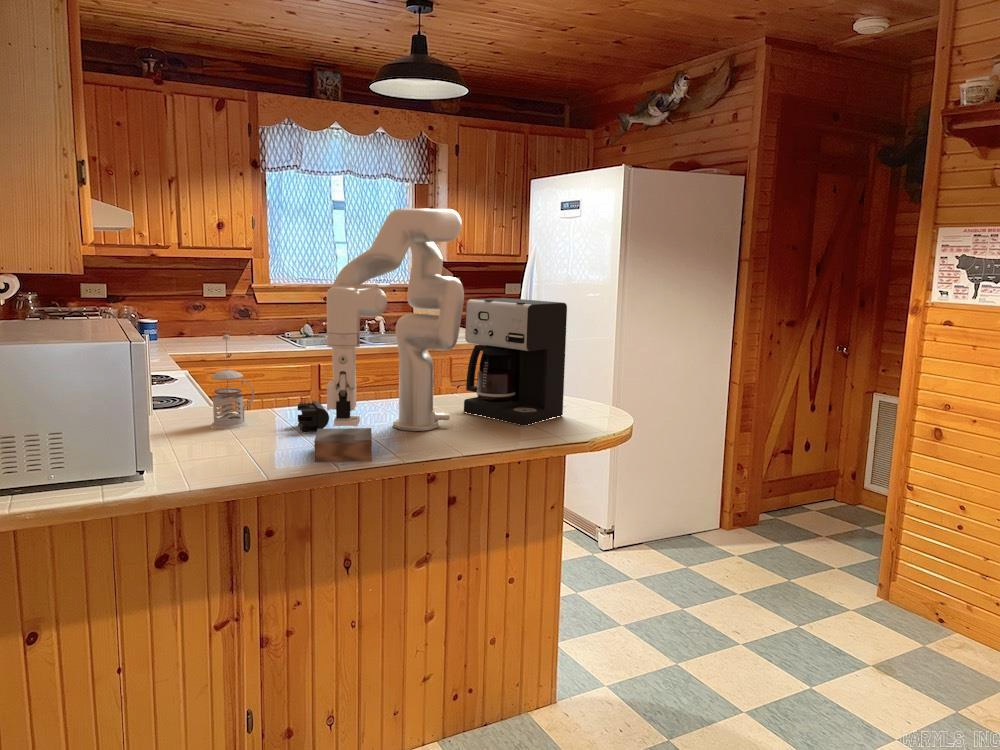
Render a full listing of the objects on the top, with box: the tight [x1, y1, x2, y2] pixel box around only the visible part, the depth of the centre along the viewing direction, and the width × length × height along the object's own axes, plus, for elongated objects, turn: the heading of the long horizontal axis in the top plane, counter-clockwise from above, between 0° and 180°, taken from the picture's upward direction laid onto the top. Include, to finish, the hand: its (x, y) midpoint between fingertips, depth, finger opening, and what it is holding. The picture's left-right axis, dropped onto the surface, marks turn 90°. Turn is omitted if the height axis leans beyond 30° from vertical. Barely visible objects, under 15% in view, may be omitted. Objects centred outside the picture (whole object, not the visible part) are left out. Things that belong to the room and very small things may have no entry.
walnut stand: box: [314, 427, 373, 463], centre depth 180 cm, size 13×12×5 cm
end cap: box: [297, 400, 330, 433], centre depth 205 cm, size 10×7×7 cm
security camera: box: [326, 379, 361, 427], centre depth 178 cm, size 6×7×10 cm
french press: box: [210, 334, 255, 430], centre depth 205 cm, size 10×12×25 cm
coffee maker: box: [463, 297, 568, 426], centre depth 228 cm, size 28×20×35 cm
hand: (343, 414), depth 178 cm, fingers closed on security camera, 6 cm apart
